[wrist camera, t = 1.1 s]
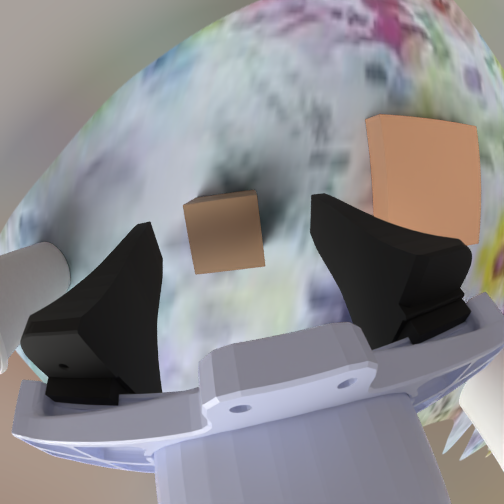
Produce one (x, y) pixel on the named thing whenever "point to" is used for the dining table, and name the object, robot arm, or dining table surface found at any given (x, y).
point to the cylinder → (487, 405)
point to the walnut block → (224, 232)
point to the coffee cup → (28, 290)
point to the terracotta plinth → (426, 175)
